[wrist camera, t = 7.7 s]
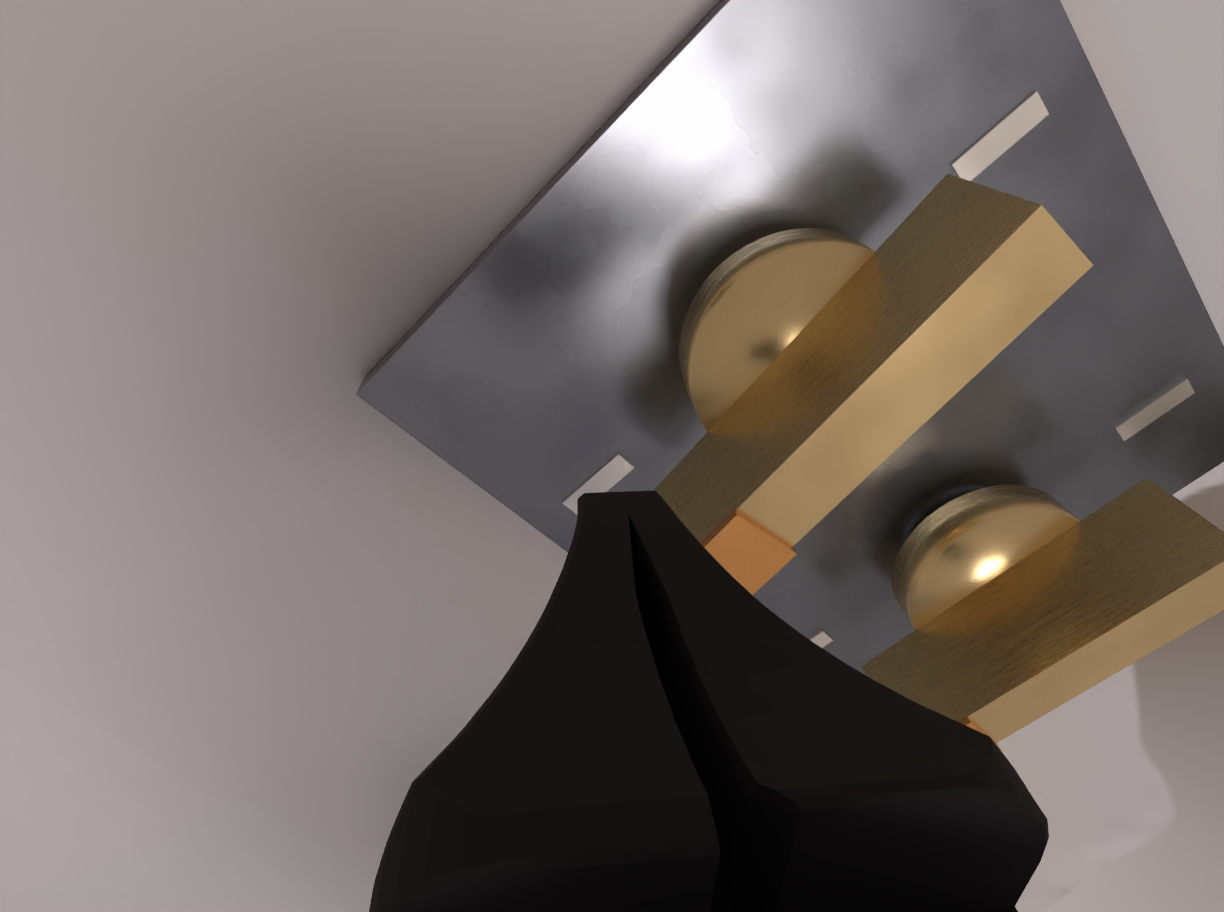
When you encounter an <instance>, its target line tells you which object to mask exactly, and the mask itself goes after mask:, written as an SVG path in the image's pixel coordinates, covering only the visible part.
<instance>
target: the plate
mask: <svg viewBox="0 0 1224 912" xmlns="http://www.w3.org/2000/svg"><path fill="white" fill-rule="evenodd" d="M947 174H950V175H953V176H956V177H959V178H962V179H965V180H968V181H971V182H974V183H977V184H980V185H983V186H986V187H989V188H992V189H995V190H998V191H1002V192H1005V193H1008V194H1010V195H1014V196H1017V197H1020V198H1023V199H1026V200H1029V201H1032V202H1035V203H1038V204H1041V205H1042V206H1043V207H1044V208H1045V209H1046V211H1047V212H1048V213H1049V214H1050V215H1051V216H1052V218H1053V219H1054V220H1055V221H1056V222H1057V223H1058V225H1059V226H1060V227H1061V228H1062V229H1063V230H1064V232H1065V233H1066V234H1067V235H1068V236H1069V237H1070V239H1071V240H1072V241H1073V242H1074V243H1075V244H1076V246H1077V247H1078V248H1079V249H1080V250H1081V251H1082V252H1083V254H1084V255H1085V256H1086V257H1087V258H1088V259H1089V261H1090V262H1091V263H1092V264H1093V266H1092V267H1091V268H1090V269H1089V270H1088V271H1087V272H1086V273H1085V274H1084V275H1083V276H1082V277H1080V278H1079V279H1078V280H1077V281H1076V282H1075V283H1074V284H1073V285H1072V286H1071V287H1070V288H1069V289H1068V290H1067V291H1065V292H1064V293H1063V294H1062V295H1061V296H1060V297H1059V298H1058V299H1057V300H1056V301H1055V302H1054V303H1053V304H1052V305H1051V306H1049V307H1048V308H1047V309H1046V310H1045V311H1044V312H1043V313H1042V314H1041V315H1040V316H1039V317H1038V318H1037V319H1036V320H1034V321H1033V322H1032V323H1031V324H1030V325H1029V326H1028V327H1027V328H1026V329H1025V330H1024V331H1023V332H1022V333H1021V334H1020V335H1018V336H1017V337H1016V338H1015V339H1014V340H1013V341H1012V342H1011V343H1010V344H1009V345H1008V346H1007V347H1006V348H1005V349H1003V350H1002V351H1001V352H1000V353H999V354H998V355H997V356H996V357H995V358H994V359H993V360H992V361H991V362H990V363H989V364H987V365H986V366H985V367H984V368H983V369H982V370H981V371H980V372H979V373H978V374H977V375H976V376H975V377H974V378H972V379H971V380H970V381H969V382H968V383H967V384H966V385H965V386H964V387H963V388H962V389H961V390H960V391H959V392H958V393H956V394H955V395H954V396H953V397H952V398H951V399H950V400H949V401H948V402H947V403H946V404H945V405H944V406H943V407H941V408H940V409H939V410H938V411H937V412H936V413H935V414H934V415H933V416H932V417H931V418H930V419H929V420H928V421H927V422H925V423H924V424H923V425H922V426H921V427H920V428H919V429H918V430H917V431H916V432H915V433H914V434H913V435H912V436H910V437H909V438H908V439H907V440H906V441H905V442H904V443H903V444H902V445H901V446H900V447H899V448H898V449H897V450H895V451H894V452H893V453H892V454H891V455H890V456H889V457H888V458H887V459H886V460H885V461H884V462H883V463H882V464H881V465H879V466H878V467H877V468H876V469H875V470H874V471H873V472H872V473H871V474H870V475H869V476H868V477H867V478H866V479H864V480H863V481H862V482H861V483H860V484H859V485H858V486H857V487H856V488H855V489H854V490H853V491H852V492H851V493H850V494H848V495H847V496H846V497H845V498H844V499H843V500H842V501H841V502H840V503H839V504H838V505H837V506H836V507H835V508H833V509H832V510H831V511H830V512H829V513H828V514H827V515H826V516H825V517H824V518H823V519H822V520H821V521H820V522H819V523H817V524H816V525H815V526H814V527H813V528H812V529H811V530H810V531H809V532H808V533H807V534H806V535H805V536H804V537H802V538H801V539H800V540H799V541H798V542H797V543H796V544H795V545H794V546H793V547H794V549H795V551H796V552H797V555H795V556H794V557H793V558H792V559H791V560H790V561H789V562H788V563H787V564H786V565H785V566H784V567H782V568H781V569H780V570H779V571H778V572H777V573H776V574H775V575H774V576H773V577H772V578H771V579H770V580H768V581H767V582H766V583H765V584H764V585H763V586H762V587H761V588H760V589H759V590H758V591H757V592H756V593H754V594H753V596H754V597H755V598H756V599H757V600H758V601H760V602H761V603H762V604H763V605H764V606H766V607H767V608H768V609H769V610H771V611H772V612H773V613H774V614H776V615H777V616H778V617H780V618H781V619H782V620H784V621H785V622H786V623H787V624H789V625H790V626H791V627H793V628H794V629H795V630H797V631H798V632H799V633H801V634H802V635H804V636H805V637H806V638H808V639H809V640H811V641H812V642H813V643H815V644H817V645H818V646H820V647H821V648H823V649H824V650H826V651H827V652H829V653H830V654H832V655H833V656H835V657H837V658H838V659H840V660H841V661H843V662H844V663H846V664H847V665H849V666H851V667H852V668H854V669H856V670H858V671H859V672H861V673H863V674H864V675H866V674H865V672H864V670H863V668H862V667H861V666H862V665H864V664H865V663H867V662H868V661H870V660H871V659H873V658H874V657H876V656H877V655H879V654H880V653H882V652H883V651H885V650H886V649H888V648H889V647H891V646H892V645H894V644H895V643H897V642H898V641H900V640H901V639H903V638H904V637H906V636H907V635H909V634H910V633H912V632H914V631H915V629H914V627H913V626H912V624H911V623H910V621H909V620H908V618H907V617H906V615H905V614H904V612H903V611H902V609H901V608H900V606H899V604H898V603H897V601H896V599H895V597H894V594H893V590H892V571H893V566H894V563H895V560H896V557H897V555H898V553H899V551H900V549H901V547H902V545H903V544H904V542H905V541H906V539H907V538H908V537H909V535H910V534H911V533H912V532H913V531H914V529H915V528H916V527H917V526H918V525H919V524H920V523H921V522H922V521H923V520H924V519H925V518H927V517H928V516H929V515H931V514H932V513H933V512H934V511H936V510H937V509H939V508H940V507H942V506H943V505H945V504H946V503H948V502H950V501H952V500H954V499H956V498H958V497H960V496H962V495H965V494H967V493H969V492H972V491H976V490H979V489H982V488H986V487H991V486H997V485H1024V486H1030V487H1033V488H1037V489H1040V490H1042V491H1044V492H1046V493H1048V494H1049V495H1051V496H1052V497H1053V498H1055V499H1056V500H1057V501H1058V502H1059V503H1060V504H1062V505H1063V506H1064V507H1065V508H1066V509H1067V510H1068V511H1070V512H1071V513H1072V514H1073V515H1074V516H1075V517H1076V518H1078V519H1079V520H1080V521H1081V520H1083V519H1084V518H1086V517H1087V516H1089V515H1090V514H1092V513H1093V512H1095V511H1096V510H1098V509H1099V508H1101V507H1102V506H1104V505H1105V504H1107V503H1108V502H1110V501H1111V500H1113V499H1114V498H1116V497H1117V496H1119V495H1120V494H1122V493H1123V492H1125V491H1126V490H1128V489H1129V488H1131V487H1132V486H1134V485H1135V484H1137V483H1138V482H1140V481H1142V480H1143V479H1145V478H1146V477H1147V478H1149V479H1150V480H1151V481H1153V482H1154V483H1156V484H1157V485H1158V486H1160V487H1161V488H1163V489H1164V490H1165V491H1167V492H1168V493H1170V494H1171V495H1173V494H1174V493H1176V492H1177V491H1179V490H1180V489H1182V488H1183V487H1185V486H1187V485H1188V484H1190V483H1191V482H1193V481H1194V480H1196V479H1197V478H1199V477H1200V476H1202V475H1204V474H1205V473H1207V472H1208V471H1210V470H1211V469H1213V468H1214V467H1216V466H1217V465H1219V464H1221V463H1222V462H1224V346H1223V344H1222V342H1221V340H1220V338H1219V335H1218V333H1217V331H1216V329H1215V327H1214V325H1213V323H1212V321H1211V319H1210V316H1209V314H1208V312H1207V310H1206V308H1205V306H1204V304H1203V302H1202V300H1201V297H1200V295H1199V293H1198V291H1197V289H1196V287H1195V285H1194V283H1193V281H1192V278H1191V276H1190V274H1189V272H1188V270H1187V268H1186V266H1185V264H1184V262H1183V259H1182V257H1181V255H1180V253H1179V251H1178V249H1177V247H1176V245H1175V243H1174V240H1173V238H1172V236H1171V234H1170V232H1169V230H1168V228H1167V226H1166V224H1165V221H1164V219H1163V217H1162V215H1161V213H1160V211H1159V209H1158V207H1157V205H1156V202H1155V200H1154V198H1153V196H1152V194H1151V192H1150V190H1149V188H1148V186H1147V183H1146V181H1145V179H1144V177H1143V175H1142V173H1141V171H1140V169H1139V167H1138V164H1137V162H1136V160H1135V158H1134V156H1133V154H1132V152H1131V150H1130V148H1129V145H1128V143H1127V141H1126V139H1125V137H1124V135H1123V133H1122V131H1121V129H1120V126H1119V124H1118V122H1117V120H1116V118H1115V116H1114V114H1113V112H1112V110H1111V107H1110V105H1109V103H1108V101H1107V99H1106V97H1105V95H1104V93H1103V91H1102V88H1101V86H1100V84H1099V82H1098V80H1097V78H1096V76H1095V74H1094V72H1093V69H1092V67H1091V65H1090V63H1089V61H1088V59H1087V57H1086V55H1085V53H1084V50H1083V48H1082V46H1081V44H1080V42H1079V40H1078V38H1077V36H1076V34H1075V31H1074V29H1073V27H1072V25H1071V23H1070V21H1069V19H1068V17H1067V15H1066V12H1065V10H1064V8H1063V6H1062V4H1061V2H1060V0H721V1H720V2H719V3H718V4H717V5H716V6H715V7H714V8H713V9H712V10H711V11H710V13H709V14H708V15H707V16H706V17H705V18H704V19H703V20H702V21H701V22H700V23H699V24H698V25H697V26H696V27H695V28H694V29H693V31H692V32H691V33H690V34H689V35H688V36H687V37H686V38H685V39H684V40H683V41H682V42H681V43H680V44H679V45H678V46H677V47H676V49H675V50H674V51H673V52H672V53H671V54H670V55H669V56H668V57H667V58H666V59H665V60H664V61H663V62H662V63H661V64H660V65H659V67H658V68H657V69H656V70H655V71H654V72H653V73H652V74H651V75H650V76H649V77H648V78H647V79H646V80H645V81H644V82H643V83H642V85H641V86H640V87H639V88H638V89H637V90H636V91H635V92H634V93H633V94H632V95H631V96H630V97H629V98H628V99H627V100H626V101H625V103H624V104H623V105H622V106H621V107H620V108H619V109H618V110H617V111H616V112H615V113H614V114H613V115H612V116H611V117H610V118H609V119H608V121H607V122H606V123H605V124H604V125H603V126H602V127H601V128H600V129H599V130H598V131H597V132H596V133H595V134H594V135H593V136H592V138H591V139H590V140H589V141H588V142H587V143H586V144H585V145H584V146H583V147H582V148H581V149H580V150H579V151H578V152H577V153H576V154H575V156H574V157H573V158H572V159H571V160H570V161H569V162H568V163H567V164H566V165H565V166H564V167H563V168H562V169H561V170H560V171H559V172H558V174H557V175H556V176H555V177H554V178H553V179H552V180H551V181H550V182H549V183H548V184H547V185H546V186H545V187H544V188H543V189H542V190H541V192H540V193H539V194H538V195H537V196H536V197H535V198H534V199H533V200H532V201H531V202H530V203H529V204H528V205H527V206H526V207H525V208H524V210H523V211H522V212H521V213H520V214H519V215H518V216H517V217H516V218H515V219H514V220H513V221H512V222H511V223H510V224H509V225H508V226H507V228H506V229H505V230H504V231H503V232H502V233H501V234H500V235H499V236H498V237H497V238H496V239H495V240H494V241H493V242H492V243H491V244H490V246H489V247H488V248H487V249H486V250H485V251H484V252H483V253H482V254H481V255H480V256H479V257H478V258H477V259H476V260H475V261H474V262H473V264H472V265H471V266H470V267H469V268H468V269H467V270H466V271H465V272H464V273H463V274H462V275H461V276H460V277H459V278H458V279H457V281H456V282H455V283H454V284H453V285H452V286H451V287H450V288H449V289H448V290H447V291H446V292H445V293H444V294H443V295H442V296H441V297H440V299H439V300H438V301H437V302H436V303H435V304H434V305H433V306H432V307H431V308H430V309H429V310H428V311H427V312H426V313H425V314H424V315H423V317H422V318H421V319H420V320H419V321H418V322H417V323H416V324H415V325H414V326H413V327H412V328H411V329H410V330H409V331H408V332H407V333H406V335H405V336H404V337H403V338H402V339H401V340H400V341H399V342H398V343H397V344H396V345H395V346H394V347H393V348H392V349H391V350H390V351H389V353H388V354H387V355H386V356H385V357H384V358H383V359H382V360H381V361H380V362H379V363H378V364H377V365H376V366H375V367H374V368H373V369H372V371H371V372H370V373H369V374H368V375H367V376H366V377H365V378H364V379H363V381H362V383H361V385H360V387H359V389H358V392H357V394H356V395H358V396H359V397H360V398H362V399H363V400H364V401H366V402H367V403H368V404H370V405H371V406H372V407H374V408H375V409H376V410H378V411H379V412H380V413H382V414H383V415H384V416H386V417H387V418H388V419H390V420H391V421H392V422H394V423H395V424H396V425H398V426H399V427H401V428H402V429H403V430H405V431H406V432H407V433H409V434H410V435H411V436H413V437H414V438H415V439H417V440H418V441H419V442H421V443H422V444H423V445H425V446H426V447H427V448H429V449H430V450H431V451H433V452H434V453H435V454H437V455H438V456H439V457H441V458H442V459H443V460H445V461H446V462H447V463H449V464H450V465H452V466H453V467H454V468H456V469H457V470H458V471H460V472H461V473H462V474H464V475H465V476H466V477H468V478H469V479H470V480H472V481H473V482H474V483H476V484H477V485H478V486H480V487H481V488H482V489H484V490H485V491H486V492H488V493H489V494H490V495H492V496H493V497H494V498H496V499H497V500H498V501H500V502H501V503H502V504H504V505H505V506H507V507H508V508H509V509H511V510H512V511H513V512H515V513H516V514H517V515H519V516H520V517H521V518H523V519H524V520H525V521H527V522H528V523H529V524H531V525H532V526H533V527H535V528H536V529H537V530H539V531H540V532H541V533H543V534H544V535H545V536H547V537H548V538H549V539H551V540H552V541H553V542H555V543H556V544H557V545H559V546H560V547H562V548H563V549H564V550H566V551H567V552H569V549H570V546H571V543H572V539H573V536H574V531H575V527H576V522H577V499H578V498H579V497H580V496H581V495H583V494H584V493H597V492H626V491H654V489H655V488H656V487H657V486H658V485H659V483H660V482H661V481H662V480H663V479H664V478H665V477H666V476H667V475H668V474H669V473H670V472H671V471H672V469H673V468H674V467H675V466H676V465H677V464H678V463H679V462H680V461H681V460H682V459H683V458H684V457H685V455H686V454H687V453H688V452H689V451H690V450H691V449H692V448H693V447H694V446H695V445H696V444H697V443H698V441H699V440H700V439H701V438H702V437H703V436H704V435H705V434H706V433H707V431H706V430H705V428H704V427H703V425H702V423H701V421H700V419H699V416H698V414H697V412H696V410H695V408H694V406H693V403H692V401H691V399H690V397H689V395H688V392H687V390H686V388H685V386H684V382H683V379H682V375H681V371H680V364H679V342H680V335H681V330H682V326H683V323H684V319H685V316H686V314H687V311H688V309H689V307H690V304H691V302H692V300H693V299H694V297H695V295H696V293H697V292H698V290H699V289H700V287H701V286H702V284H703V283H704V282H705V280H706V279H707V278H708V276H709V275H710V274H711V273H712V272H713V271H714V270H715V269H716V268H717V267H718V266H719V265H720V264H721V263H722V262H724V261H725V260H726V259H727V258H728V257H730V256H731V255H732V254H733V253H735V252H736V251H738V250H740V249H741V248H743V247H744V246H746V245H748V244H750V243H752V242H754V241H756V240H758V239H760V238H762V237H765V236H768V235H771V234H774V233H777V232H781V231H786V230H791V229H802V228H815V229H826V230H830V231H835V232H839V233H842V234H844V235H847V236H849V237H852V238H854V239H855V240H857V241H859V242H861V243H862V244H864V245H866V246H867V247H869V248H870V249H872V250H874V251H876V250H877V249H878V248H879V247H880V246H881V245H882V243H883V242H884V241H885V240H886V239H887V238H888V237H889V236H890V235H891V234H892V233H893V232H894V231H895V229H896V228H897V227H898V226H899V225H900V224H901V223H902V222H903V221H904V220H905V219H906V218H907V217H908V215H909V214H910V213H911V212H912V211H913V210H914V209H915V208H916V207H917V206H918V205H919V204H920V203H921V201H922V200H923V199H924V198H925V197H926V196H927V195H928V194H929V193H930V192H931V191H932V190H933V189H934V187H935V186H936V185H937V184H938V183H939V182H940V181H941V180H942V179H943V178H944V177H945V176H946V175H947Z"/></svg>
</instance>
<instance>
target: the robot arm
mask: <svg viewBox="0 0 1224 912" xmlns="http://www.w3.org/2000/svg"><path fill="white" fill-rule="evenodd" d="M1048 838H1049V834H1048V822H1047V818H1046V817H1045V815H1044V814H1043V812H1042V811H1041V809H1040V808H1039V806H1038V805H1037V803H1036V802H1035V800H1034V799H1033V797H1032V796H1031V794H1030V792H1029V791H1028V789H1027V788H1026V786H1025V784H1024V783H1023V781H1022V780H1021V778H1020V777H1019V775H1018V774H1017V772H1016V771H1015V769H1014V768H1013V766H1012V765H1011V764H1010V762H1009V761H1008V760H1007V758H1006V757H1005V756H1004V754H1003V753H1002V752H1001V750H1000V749H999V748H998V747H997V745H996V744H995V743H994V741H993V740H992V739H991V737H990V736H988V735H985V734H983V733H981V732H979V731H977V730H974V729H972V728H970V727H968V726H966V725H963V724H961V723H959V722H957V721H955V720H953V719H950V718H948V717H946V716H944V715H942V714H939V713H937V712H935V711H933V710H931V709H929V708H926V707H924V706H922V705H920V704H918V703H916V702H914V701H912V700H910V699H908V698H906V697H904V696H903V695H901V694H899V693H897V692H895V691H893V690H891V689H890V688H888V687H886V686H884V685H882V684H880V683H878V682H877V681H875V680H873V679H871V678H869V677H868V676H866V675H864V674H863V673H861V672H859V671H858V670H856V669H854V668H852V667H851V666H849V665H847V664H846V663H844V662H843V661H841V660H840V659H838V658H837V657H835V656H833V655H832V654H830V653H829V652H827V651H826V650H824V649H823V648H821V647H820V646H818V645H817V644H815V643H813V642H812V641H811V640H809V639H808V638H806V637H805V636H804V635H802V634H801V633H799V632H798V631H797V630H795V629H794V628H793V627H791V626H790V625H789V624H787V623H786V622H785V621H784V620H782V619H781V618H780V617H778V616H777V615H776V614H774V613H773V612H772V611H771V610H769V609H768V608H767V607H766V606H764V605H763V604H762V603H761V602H760V601H758V600H757V599H756V598H755V597H754V596H753V595H752V594H750V593H749V592H748V591H747V590H746V589H745V588H744V587H743V586H742V585H741V584H740V583H739V582H738V581H737V580H735V579H734V578H733V577H732V576H731V575H730V574H729V573H728V572H727V571H726V570H725V569H724V568H723V567H722V566H721V565H720V564H719V562H718V561H717V560H716V559H715V558H714V557H713V556H712V555H711V554H710V553H709V552H708V551H707V550H706V549H705V548H704V547H703V545H702V544H701V543H700V542H699V541H698V540H697V539H696V538H695V537H694V535H693V534H692V533H691V532H690V531H689V530H688V528H687V527H686V526H685V525H684V524H683V523H682V521H681V520H680V519H679V518H678V517H677V515H676V514H675V513H674V512H673V510H672V509H671V508H670V507H669V505H668V504H667V503H666V502H665V500H664V499H663V498H662V497H661V495H659V494H658V493H657V492H656V491H626V492H597V493H584V494H583V495H581V496H580V497H579V498H578V499H577V522H576V527H575V531H574V536H573V539H572V543H571V546H570V549H569V552H568V555H567V558H566V561H565V564H564V567H563V569H562V572H561V574H560V577H559V579H558V581H557V583H556V586H555V588H554V590H553V593H552V595H551V597H550V599H549V602H548V604H547V606H546V608H545V610H544V612H543V614H542V616H541V618H540V619H539V621H538V623H537V625H536V627H535V629H534V630H533V632H532V634H531V636H530V637H529V639H528V641H527V642H526V644H525V646H524V647H523V649H522V650H521V652H520V653H519V655H518V657H517V658H516V660H515V661H514V663H513V664H512V666H511V667H510V669H509V670H508V672H507V673H506V675H505V676H504V678H503V679H502V680H501V682H500V683H499V685H498V686H497V687H496V689H495V690H494V691H493V692H492V694H491V695H490V696H489V697H488V699H487V700H486V701H485V702H484V704H483V705H482V706H481V707H480V709H479V710H478V711H477V712H476V714H475V715H474V716H473V717H472V719H471V720H470V721H469V722H468V724H467V725H466V726H465V727H464V728H463V730H462V731H461V732H460V733H459V734H458V735H457V736H456V737H455V739H454V740H453V741H452V742H451V743H450V744H449V745H448V746H447V747H446V748H445V749H444V750H443V751H442V752H441V753H440V754H439V755H438V756H437V757H436V758H435V759H434V760H433V761H432V762H431V764H430V765H429V766H428V767H427V768H426V769H425V770H424V771H423V772H422V773H421V774H420V775H419V776H418V777H417V778H416V779H415V780H414V781H413V782H412V784H411V786H410V789H409V791H408V793H407V795H406V797H405V800H404V802H403V804H402V806H401V809H400V811H399V813H398V816H397V818H396V820H395V823H394V826H393V828H392V831H391V833H390V836H389V838H388V841H387V844H386V847H385V850H384V853H383V856H382V859H381V862H380V866H379V869H378V873H377V876H376V879H375V883H374V888H373V893H372V898H371V904H370V910H369V912H1018V911H1017V909H1016V908H1015V905H1016V903H1017V901H1018V899H1019V898H1020V896H1021V894H1022V892H1023V891H1024V889H1025V887H1026V885H1027V884H1028V882H1029V880H1030V878H1031V877H1032V875H1033V873H1034V871H1035V870H1036V868H1037V866H1038V865H1039V863H1040V861H1041V858H1042V855H1043V852H1044V850H1045V847H1046V844H1047V841H1048Z"/></svg>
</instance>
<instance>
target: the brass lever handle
mask: <svg viewBox="0 0 1224 912" xmlns="http://www.w3.org/2000/svg"><path fill="white" fill-rule="evenodd" d="M1092 266H1093V264H1092V263H1091V262H1090V261H1089V259H1088V258H1087V257H1086V256H1085V255H1084V254H1083V252H1082V251H1081V250H1080V249H1079V248H1078V247H1077V246H1076V244H1075V243H1074V242H1073V241H1072V240H1071V239H1070V237H1069V236H1068V235H1067V234H1066V233H1065V232H1064V230H1063V229H1062V228H1061V227H1060V226H1059V225H1058V223H1057V222H1056V221H1055V220H1054V219H1053V218H1052V216H1051V215H1050V214H1049V213H1048V212H1047V211H1046V209H1045V208H1044V207H1043V206H1042V205H1041V204H1038V203H1035V202H1032V201H1029V200H1026V199H1023V198H1020V197H1017V196H1014V195H1010V194H1008V193H1005V192H1002V191H998V190H995V189H992V188H989V187H986V186H983V185H980V184H977V183H974V182H971V181H968V180H965V179H962V178H959V177H956V176H953V175H950V174H947V175H946V176H945V177H944V178H943V179H942V180H941V181H940V182H939V183H938V184H937V185H936V186H935V187H934V189H933V190H932V191H931V192H930V193H929V194H928V195H927V196H926V197H925V198H924V199H923V200H922V201H921V203H920V204H919V205H918V206H917V207H916V208H915V209H914V210H913V211H912V212H911V213H910V214H909V215H908V217H907V218H906V219H905V220H904V221H903V222H902V223H901V224H900V225H899V226H898V227H897V228H896V229H895V231H894V232H893V233H892V234H891V235H890V236H889V237H888V238H887V239H886V240H885V241H884V242H883V243H882V245H881V246H880V247H879V248H878V249H877V250H876V251H874V250H872V249H870V248H869V247H867V246H866V245H864V244H862V243H861V242H859V241H857V240H855V239H854V238H852V237H849V236H847V235H844V234H842V233H839V232H835V231H830V230H826V229H815V228H802V229H791V230H786V231H781V232H777V233H774V234H771V235H768V236H765V237H762V238H760V239H758V240H756V241H754V242H752V243H750V244H748V245H746V246H744V247H743V248H741V249H740V250H738V251H736V252H735V253H733V254H732V255H731V256H730V257H728V258H727V259H726V260H725V261H724V262H722V263H721V264H720V265H719V266H718V267H717V268H716V269H715V270H714V271H713V272H712V273H711V274H710V275H709V276H708V278H707V279H706V280H705V282H704V283H703V284H702V286H701V287H700V289H699V290H698V292H697V293H696V295H695V297H694V299H693V300H692V302H691V304H690V307H689V309H688V311H687V314H686V316H685V319H684V323H683V326H682V330H681V335H680V342H679V364H680V371H681V375H682V379H683V382H684V386H685V388H686V390H687V392H688V395H689V397H690V399H691V401H692V403H693V406H694V408H695V410H696V412H697V414H698V416H699V419H700V421H701V423H702V425H703V427H704V428H705V430H706V431H707V433H706V434H705V435H704V436H703V437H702V438H701V439H700V440H699V441H698V443H697V444H696V445H695V446H694V447H693V448H692V449H691V450H690V451H689V452H688V453H687V454H686V455H685V457H684V458H683V459H682V460H681V461H680V462H679V463H678V464H677V465H676V466H675V467H674V468H673V469H672V471H671V472H670V473H669V474H668V475H667V476H666V477H665V478H664V479H663V480H662V481H661V482H660V483H659V485H658V486H657V487H656V488H655V489H654V491H656V492H657V493H658V494H659V495H661V497H662V498H663V499H664V500H665V502H666V503H667V504H668V505H669V507H670V508H671V509H672V510H673V512H674V513H675V514H676V515H677V517H678V518H679V519H680V520H681V521H682V523H683V524H684V525H685V526H686V527H687V528H688V530H689V531H690V532H691V533H692V534H693V535H694V537H695V538H696V539H697V540H698V541H699V542H700V543H701V544H702V545H703V547H704V548H705V549H706V550H707V551H708V552H709V553H710V554H711V555H712V556H713V557H714V558H715V559H716V560H717V561H718V562H719V564H720V565H721V566H722V567H723V568H724V569H725V570H726V571H727V572H728V573H729V574H730V575H731V576H732V577H733V578H734V579H735V580H737V581H738V582H739V583H740V584H741V585H742V586H743V587H744V588H745V589H746V590H747V591H748V592H749V593H750V594H752V595H753V594H754V593H756V592H757V591H758V590H759V589H760V588H761V587H762V586H763V585H764V584H765V583H766V582H767V581H768V580H770V579H771V578H772V577H773V576H774V575H775V574H776V573H777V572H778V571H779V570H780V569H781V568H782V567H784V566H785V565H786V564H787V563H788V562H789V561H790V560H791V559H792V558H793V557H794V556H795V555H797V552H796V551H795V549H794V547H793V546H794V545H795V544H796V543H797V542H798V541H799V540H800V539H801V538H802V537H804V536H805V535H806V534H807V533H808V532H809V531H810V530H811V529H812V528H813V527H814V526H815V525H816V524H817V523H819V522H820V521H821V520H822V519H823V518H824V517H825V516H826V515H827V514H828V513H829V512H830V511H831V510H832V509H833V508H835V507H836V506H837V505H838V504H839V503H840V502H841V501H842V500H843V499H844V498H845V497H846V496H847V495H848V494H850V493H851V492H852V491H853V490H854V489H855V488H856V487H857V486H858V485H859V484H860V483H861V482H862V481H863V480H864V479H866V478H867V477H868V476H869V475H870V474H871V473H872V472H873V471H874V470H875V469H876V468H877V467H878V466H879V465H881V464H882V463H883V462H884V461H885V460H886V459H887V458H888V457H889V456H890V455H891V454H892V453H893V452H894V451H895V450H897V449H898V448H899V447H900V446H901V445H902V444H903V443H904V442H905V441H906V440H907V439H908V438H909V437H910V436H912V435H913V434H914V433H915V432H916V431H917V430H918V429H919V428H920V427H921V426H922V425H923V424H924V423H925V422H927V421H928V420H929V419H930V418H931V417H932V416H933V415H934V414H935V413H936V412H937V411H938V410H939V409H940V408H941V407H943V406H944V405H945V404H946V403H947V402H948V401H949V400H950V399H951V398H952V397H953V396H954V395H955V394H956V393H958V392H959V391H960V390H961V389H962V388H963V387H964V386H965V385H966V384H967V383H968V382H969V381H970V380H971V379H972V378H974V377H975V376H976V375H977V374H978V373H979V372H980V371H981V370H982V369H983V368H984V367H985V366H986V365H987V364H989V363H990V362H991V361H992V360H993V359H994V358H995V357H996V356H997V355H998V354H999V353H1000V352H1001V351H1002V350H1003V349H1005V348H1006V347H1007V346H1008V345H1009V344H1010V343H1011V342H1012V341H1013V340H1014V339H1015V338H1016V337H1017V336H1018V335H1020V334H1021V333H1022V332H1023V331H1024V330H1025V329H1026V328H1027V327H1028V326H1029V325H1030V324H1031V323H1032V322H1033V321H1034V320H1036V319H1037V318H1038V317H1039V316H1040V315H1041V314H1042V313H1043V312H1044V311H1045V310H1046V309H1047V308H1048V307H1049V306H1051V305H1052V304H1053V303H1054V302H1055V301H1056V300H1057V299H1058V298H1059V297H1060V296H1061V295H1062V294H1063V293H1064V292H1065V291H1067V290H1068V289H1069V288H1070V287H1071V286H1072V285H1073V284H1074V283H1075V282H1076V281H1077V280H1078V279H1079V278H1080V277H1082V276H1083V275H1084V274H1085V273H1086V272H1087V271H1088V270H1089V269H1090V268H1091V267H1092Z"/></svg>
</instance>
